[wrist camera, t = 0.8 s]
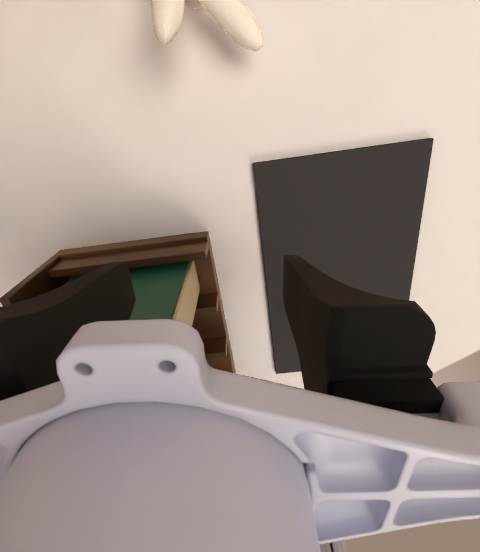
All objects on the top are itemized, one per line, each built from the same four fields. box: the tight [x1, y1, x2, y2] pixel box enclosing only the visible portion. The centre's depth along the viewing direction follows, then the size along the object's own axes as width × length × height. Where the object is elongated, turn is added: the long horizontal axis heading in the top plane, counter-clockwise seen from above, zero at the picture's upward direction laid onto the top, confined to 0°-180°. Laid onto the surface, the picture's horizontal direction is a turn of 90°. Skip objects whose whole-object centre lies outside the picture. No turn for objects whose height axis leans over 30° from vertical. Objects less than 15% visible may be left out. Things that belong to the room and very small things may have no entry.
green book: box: [64, 260, 200, 327], centre depth 21 cm, size 3×9×8 cm, turn 98°
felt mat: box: [253, 138, 433, 374], centre depth 26 cm, size 20×12×1 cm, turn 8°
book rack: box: [0, 232, 235, 373], centre depth 25 cm, size 15×12×7 cm
